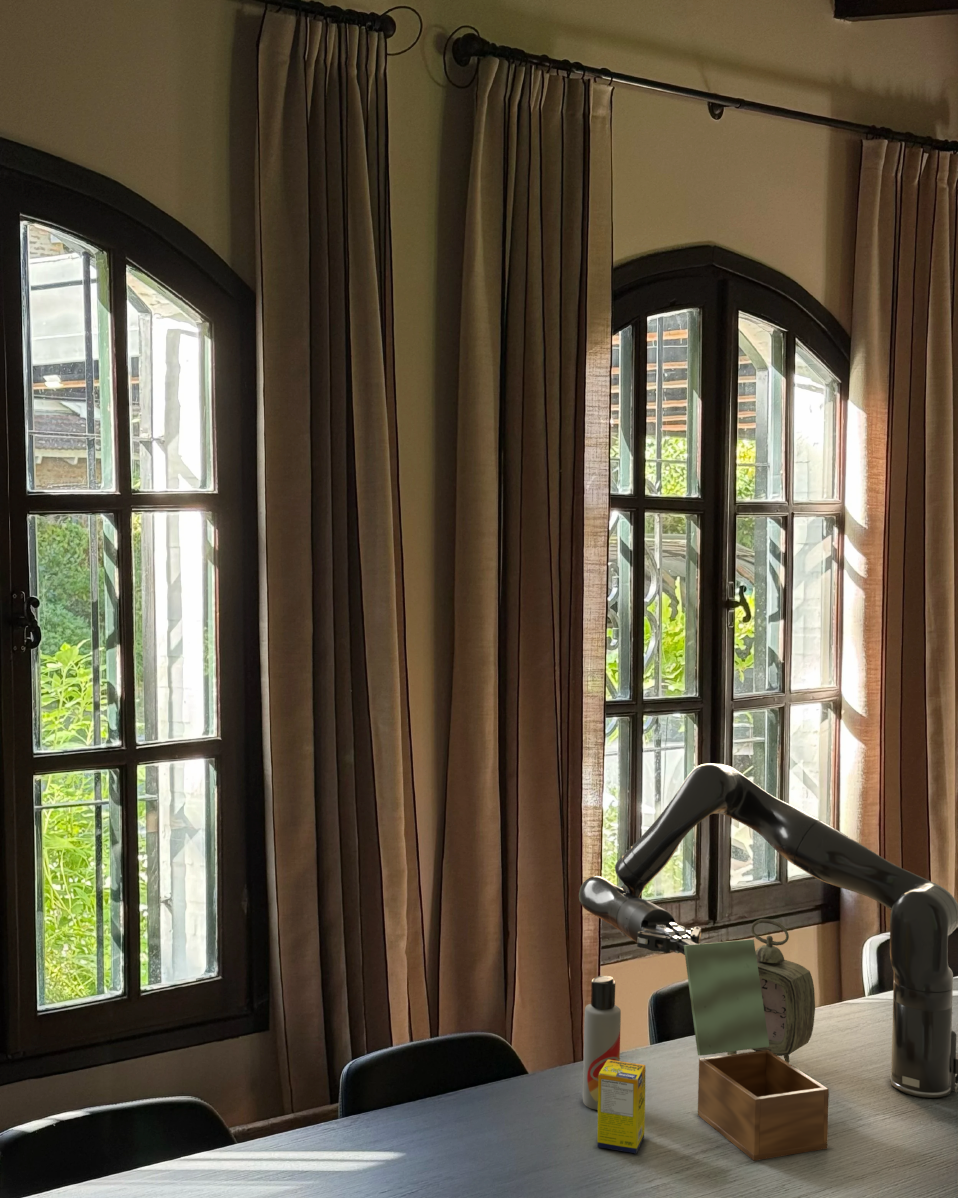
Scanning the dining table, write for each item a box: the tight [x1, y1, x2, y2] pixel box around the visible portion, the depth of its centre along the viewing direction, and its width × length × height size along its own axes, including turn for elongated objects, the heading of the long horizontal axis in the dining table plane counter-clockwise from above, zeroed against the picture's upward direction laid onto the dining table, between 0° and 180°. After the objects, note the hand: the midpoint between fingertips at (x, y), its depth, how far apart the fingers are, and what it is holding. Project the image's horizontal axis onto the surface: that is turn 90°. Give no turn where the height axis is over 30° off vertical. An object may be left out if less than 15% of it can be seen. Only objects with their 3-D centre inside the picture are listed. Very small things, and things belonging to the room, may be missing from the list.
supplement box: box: [596, 1059, 646, 1154], centre depth 174 cm, size 6×6×11 cm
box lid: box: [684, 938, 769, 1056], centre depth 188 cm, size 16×13×1 cm
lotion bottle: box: [582, 975, 622, 1111], centre depth 187 cm, size 6×6×20 cm
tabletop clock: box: [726, 918, 816, 1064], centre depth 205 cm, size 14×9×25 cm, turn 49°
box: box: [697, 1050, 830, 1161], centre depth 179 cm, size 16×13×9 cm
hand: (695, 952), depth 197 cm, fingers closed
